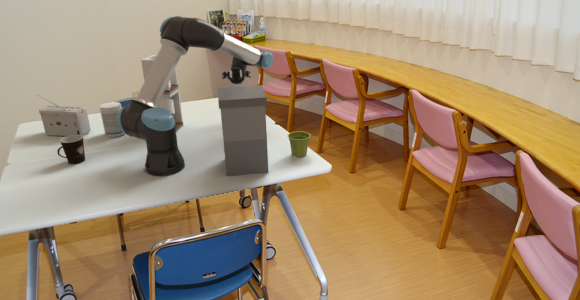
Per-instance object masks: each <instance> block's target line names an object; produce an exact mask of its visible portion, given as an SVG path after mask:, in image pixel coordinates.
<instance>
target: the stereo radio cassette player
mask: <svg viewBox="0 0 580 300" xmlns="http://www.w3.org/2000/svg"><path fill="white" fill-rule="evenodd" d="M37 96H38V97H40V98H42V99H44V100H46V101H48V102H49V103H50V104H52V105H47V106H45V107H42V108H40V109H38V113H39V115H40V117H41V121H42V125H43V129H44V132H45V134H46V136H57V137H58V136H60V137H67V136H71V135H81V136H83V137H84V136H85V135H87V134H89V133H90V132H91V125H90V119H89V115H88V111H87V108H86V107H85V106H84V107H81V106H61V105H58V104H56V103H53V102H52V101H50V100H48V99H47V98H45V97H43V96H41V95H37Z"/></svg>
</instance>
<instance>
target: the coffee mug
mask: <svg viewBox="0 0 580 300" xmlns="http://www.w3.org/2000/svg"><path fill="white" fill-rule="evenodd" d="M59 141H60V144H61V146H59V148H58V149H57V155H58V156H59V157H61V158H64V159H67V163H68V164H70V165H78V164H82V163H84V161H86V156H85V154H86V153H85V143H84V142H85V141H84V136H81V135H71V136H63V137H62V138H60V139H59ZM61 149H63V152H64V155H65V156H64V155H61V153H60V151H61Z"/></svg>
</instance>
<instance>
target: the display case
mask: <svg viewBox="0 0 580 300" xmlns="http://www.w3.org/2000/svg"><path fill="white" fill-rule="evenodd" d="M157 55H158V54H155V55H154V54H151V55H149V56H147V57H144V58H143V59H141V60H140V62H141V67H142V74H143V81H144V82H145V80H146V78H147V75H148V73H149V71H150V69H151V67H152V65H153V63H154V61H155V59H156V57H157ZM177 72H178V71H177V67H176V68H175V70H174V72H173V74H172V76H171V78H170V80H169V83H168V85H167V87H166V89H165V91H164V93H163V95H162V97H161V100H160V102H159V104H158V106H157V108H164V109H167V110H169V111H171V112H172V114H173V116H174V120H175V128H176V133H178V131H179V130H181V129H182V128H183V127H184V118H183V112H182V104H181V96H180V88H179V82H178V81H179V79H178V73H177Z"/></svg>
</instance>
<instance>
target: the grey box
mask: <svg viewBox="0 0 580 300" xmlns="http://www.w3.org/2000/svg"><path fill="white" fill-rule="evenodd" d="M217 90H218V91H217V94H218V95H217V99H218V109H220V117H221V118H220V119H221V128H222V129H221V130H222V140H223V149H224V150H223V151H224V161H225V172H226V173H225V174H226V177H232V176H244V175H254V174H256V175H257V174H265V173H269V172H270V171H269V157H268V152H269V150H268V135H267V133H268V132H267V116H266V115H267V114H266V106H267V105H268V104H267V101H268V100H267V96H266V93H265V90H264V87H263V85H261V84H260V85H245V86H244V85H243V86H229V87H228V86H227V87H218V88H217Z"/></svg>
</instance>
